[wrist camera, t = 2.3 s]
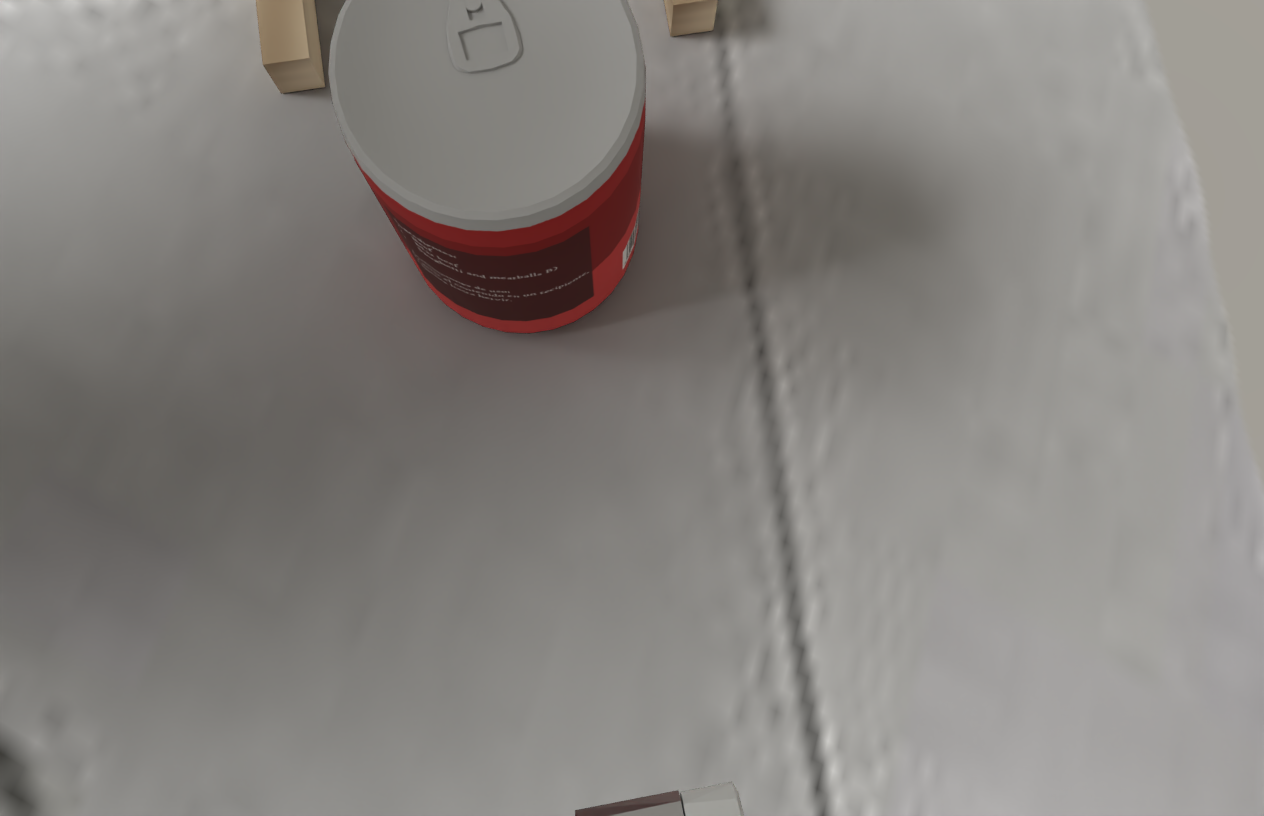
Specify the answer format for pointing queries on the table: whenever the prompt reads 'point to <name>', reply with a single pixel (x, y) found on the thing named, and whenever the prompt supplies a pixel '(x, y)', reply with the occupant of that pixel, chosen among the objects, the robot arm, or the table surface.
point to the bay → (298, 53)
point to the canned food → (499, 146)
